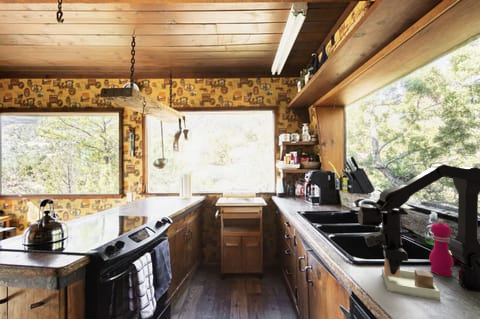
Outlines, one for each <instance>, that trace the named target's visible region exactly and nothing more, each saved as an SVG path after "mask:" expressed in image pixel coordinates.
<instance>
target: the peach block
mask: <svg viewBox="0 0 480 319" xmlns="http://www.w3.org/2000/svg"><path fill="white" fill-rule="evenodd" d="M383 267H384V271H385V274H386V275H388V276H393V277H398V278H399V277H400V270H401V266H400V267H399V268H398V270H397V272H396V274H395V275H394V274H391V271H390V266H389V261H388V259H387V258H385V257H384V266H383Z"/></svg>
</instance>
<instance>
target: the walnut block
mask: <svg viewBox="0 0 480 319" xmlns="http://www.w3.org/2000/svg"><path fill="white" fill-rule="evenodd" d="M414 272H415V286H416V287H422V288H428V289H433V283H434V276H433V274H432V273H431V272H430V271H426V270H417V269H414Z"/></svg>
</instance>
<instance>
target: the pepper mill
mask: <svg viewBox="0 0 480 319" xmlns="http://www.w3.org/2000/svg"><path fill="white" fill-rule="evenodd" d="M430 232H431V233H432V234H433V235H432V240H433V241H434V242H433V248H432V250H431V252H430V253H429V257H428V260H429V262H430V264H431V265H430V271H431V272H432V273H434V274H435V275H440V276H445V277H446V276H447V277H451V276H453V269H452V267H453V266H454V265H455V262H454V257H453V255H452V254H451V252H450V250H449V243H450V235H451V234H452V230H451V227H450V226H449V225H447V224H446V223H444V219H442V218H441V219H440V218H439V219H437V222H435V223H433V224H431V226H430Z"/></svg>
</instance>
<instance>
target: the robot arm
mask: <svg viewBox="0 0 480 319" xmlns="http://www.w3.org/2000/svg"><path fill="white" fill-rule="evenodd" d="M442 178H445V179H446V178H447V179H452V183H453V186H454V188H455V190H456V191H457V193H458V197H457V198H458V200H457V201H458V202H457V204H458V205H457V208H458V209H457V235H456V236H455V238H454V239H453V238H449V247H448V250H449V252H450V254H451V256H452V257H453V258H454V259H455V260H456V261H457V264H459V265H460V266H459V267H460V268H459V270H458V283H459V284H460V285H461V286H463V288H465V290H467V291H474V292H480V240H479V239H478V226H479V225H478V219H479V218H478V216H479V212H478V211H479V210H478V208H479V207H478V206H479V194H480V167H476V166H475V167H474V166H458V167H457V166H451V165H447V164H433V165H432V166H431V167H430V168H428V169H425V170H424V171H423V172H421V173H420V174H417V175H416V176H415V177H413V178H411V179H409V180H407V181H406V182H404V183H403V184H400V185H397V186H392V187H390V188H386V189H384V190H383V191H381V192H380V193H379V197H378V199H377V201H376V202H375V203H374V205H373V206H364V205H360V206H359V210H358V213H357V220H358V223H359V226H361V227H362V226H364V227H379V226H380V225H381V227H380V230H379V231H377V232H371V233H367V234H364V235H363V237H364V239H365V243H366V246H367V247H368V248H370V247H371V248H372V247H373V246H379V245H380V246H379V247H380V249H381V251H383V257H384V259H385V258H387V259H388V261H389V266H390V271H391V274H394V275H395V274H396V272H397V270H398V268H399V267H400V268H401V265H402V263H403V262H408V261H409V255H408V253H407V252H406V251H405V249H404V248H403V246H404V245H403V243H402V236H403V231H402V215H403V216H404V215H405V216H407V215H409V213H408V212H407V211H406V210H405V209H404V208H403V207H402V206H403V205H404V204H406V203H407V202H408V201H409V200H410V198H411V197H412V196H413V195H414V194H416V193H419V192H420V191H421V190H423V189H425V188H427V187H429V186H430V185H432V184H433V183H436V182H437V181H439V180H440V179H442Z"/></svg>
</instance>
